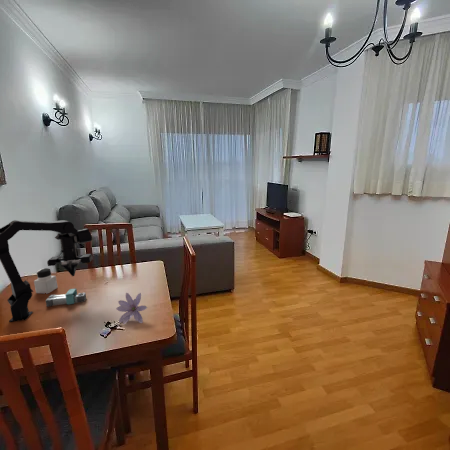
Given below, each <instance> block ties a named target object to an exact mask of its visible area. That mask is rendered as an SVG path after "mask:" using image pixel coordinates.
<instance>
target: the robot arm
mask: <svg viewBox="0 0 450 450" xmlns="http://www.w3.org/2000/svg"><path fill="white" fill-rule="evenodd" d="M20 231H39V232H40V231H42V232H44V231H46V232H47V231H48V232H55V233H57V235H55V236H54V239H55V240H58V241H59V240H60V245H61V249H60V251H61V253H62V257H61V256H52V257H50V258H49V259H48V260H47V262H46V263H47V266H48V267H54V266H56V265H57V263H61V265H60V266H61V267H63V268H64V269H65V270H66V271H67V272H68V273H69V274H70V275H71V277H75V275H76V271H77V268H78V266H79V264H80V263H82V264H89V263H91V261H92V260H93V259H94V255H93V254H91V253H87V254H86V253H85V254H84V253H83V255H81V248H78V247H77V245H76V243H78V244H79V245H80V244H84V243H89V242H92V240H93V237H92V236H93V235H92V234H91V232H90V229H89V228H83V229H76V228H75V225H74V223H72V222H71V221H69V220H66V219H65V220H64V219H63V220H60V219H59V220H55V221H54V220H53V221H33V220H16V219H14V220H12V221H10V222H8V223H7V224H6V225H4V226H2V227H0V263H1V265H2V268H3V270H4V271H5V274H6V275H7V277H8V280H9V282H10V289H11V295H10V296H9V297H8V299H7V303H8V304H9V305H10V306H9V307H10V313H11V316H12V317H11V318H10V319H9V320H8V322H9V323H12V322H22V321H26V320H27V319H29V317H30V316H32V314H33V310H31V311H29V301H30V300H31V298H32V297H33V292H34V291H33V289H32V287H31V284H30V283H29V281H28V280H27V279H26V280H23V279H22V277H21V275H20V272H19V270H18V268H17V266H16V264H15V262H14V259H13V257H12V255H11V253H10V245H9V240H11V239H12V238H13V237H15V235H16V234H17V233H18V232H20Z"/></svg>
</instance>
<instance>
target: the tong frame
mask: <svg viewBox="0 0 450 450" xmlns="http://www.w3.org/2000/svg"><path fill="white" fill-rule="evenodd" d="M73 296H74V302H75V303H74V304H77V303H78V304H79V303H85V301H86V300H87V294H86V292H78V293H77V295H73ZM45 305H46V307H47V308H49V307H53V306H59V305H68V304H67V302H66V296H64V297H55V298H49V297H47V298H46V300H45Z"/></svg>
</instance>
